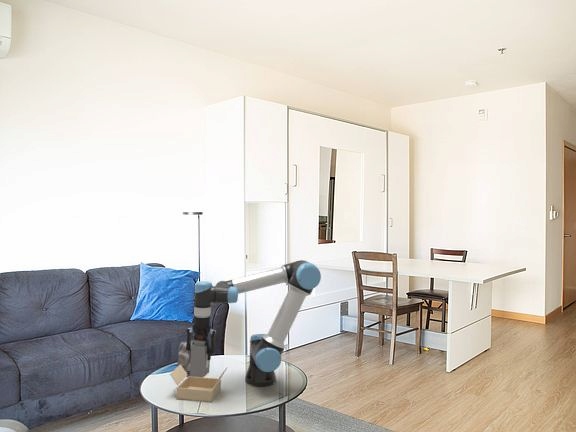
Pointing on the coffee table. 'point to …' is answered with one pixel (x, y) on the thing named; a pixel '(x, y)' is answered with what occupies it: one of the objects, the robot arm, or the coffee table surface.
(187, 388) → the carton
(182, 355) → the figurine
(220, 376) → the flap
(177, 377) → the flap
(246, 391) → the coffee table surface
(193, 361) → the perfume bottle
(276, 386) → the coffee table surface
